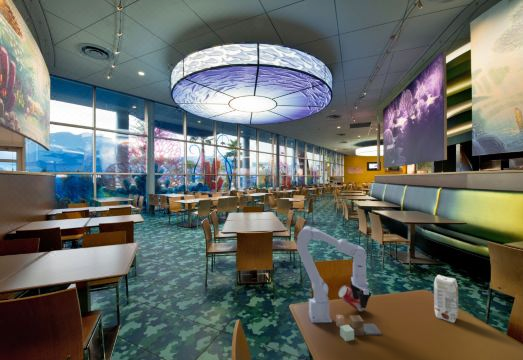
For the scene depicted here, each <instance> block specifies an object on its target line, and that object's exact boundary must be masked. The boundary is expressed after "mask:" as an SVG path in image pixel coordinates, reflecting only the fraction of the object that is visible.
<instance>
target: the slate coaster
mask: <svg viewBox="0 0 523 360" xmlns="http://www.w3.org/2000/svg"><path fill="white" fill-rule="evenodd" d="M382 334H383V333H382V332H381V330H380V329H379V328H378V327H377V325H375V323H364V336H366V335H367V336H370V335H371V336H372V335H373V336H376V335H379V336H382Z"/></svg>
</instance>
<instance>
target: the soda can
mask: <svg viewBox="0 0 523 360" xmlns="http://www.w3.org/2000/svg"><path fill="white" fill-rule="evenodd" d="M337 294H338V296H339V298H340V299H341V300H342V302H344V303H346V304H347V305H349V306H350V307H352V308H354V309H355V310H357V312H364V311H365V310H366V308H361V306H360V300H359V299H354V298H353V294H352V290H351V287H350V286H347V285H342V286H341V287H340V288H339V290H338V293H337Z"/></svg>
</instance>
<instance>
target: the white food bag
mask: <svg viewBox="0 0 523 360" xmlns="http://www.w3.org/2000/svg"><path fill="white" fill-rule="evenodd" d="M433 297H434V298H433V301H434V302H433V305H434V306H433V308H434V309H433V310H434V315H435V317H436V318H438V319H441V320H444V321H446V322H450V323H452V324H455V322H456V320H457V318H458V316H459V285H458V282H457V279H456V278H454V277H449V276H448V277H447V276H444V275H441V274H437V275H436V276H435V277H434V282H433Z"/></svg>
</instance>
